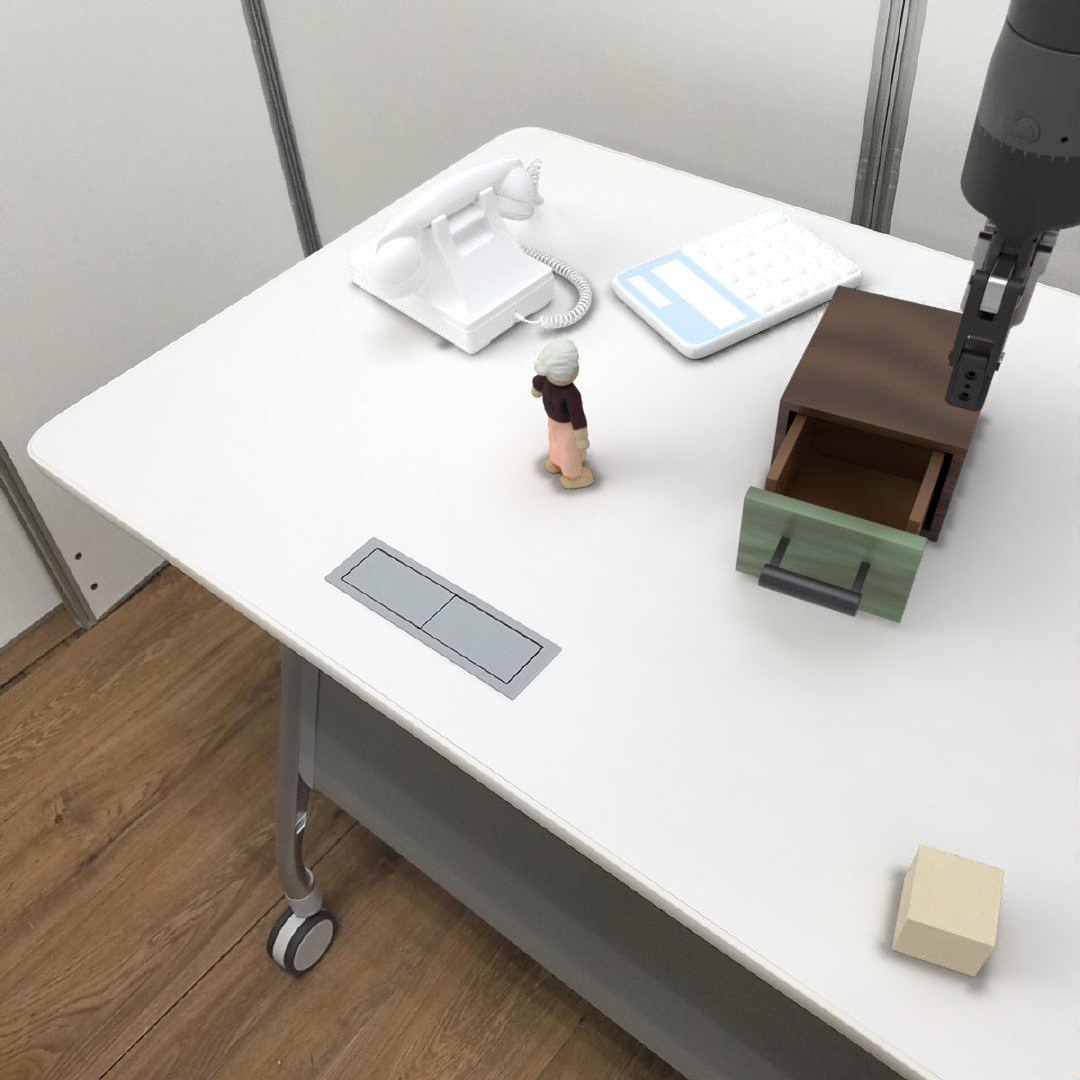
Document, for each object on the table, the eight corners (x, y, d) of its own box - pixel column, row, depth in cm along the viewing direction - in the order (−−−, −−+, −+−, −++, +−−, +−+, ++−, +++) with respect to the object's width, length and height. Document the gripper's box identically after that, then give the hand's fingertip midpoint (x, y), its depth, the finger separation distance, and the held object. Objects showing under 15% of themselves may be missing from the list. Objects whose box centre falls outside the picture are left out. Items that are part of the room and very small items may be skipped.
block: (984, 903, 63) (1004, 869, 60) (974, 977, 61) (995, 947, 57) (904, 878, 64) (920, 844, 61) (891, 949, 62) (907, 918, 58)
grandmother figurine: (616, 479, 87) (615, 354, 78) (581, 504, 86) (576, 380, 76) (551, 432, 91) (543, 308, 82) (516, 455, 90) (504, 331, 80)
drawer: (883, 671, 73) (906, 599, 67) (714, 614, 77) (722, 541, 71) (944, 492, 83) (969, 416, 77) (792, 450, 87) (804, 374, 81)
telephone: (505, 193, 115) (495, 78, 106) (657, 268, 105) (660, 148, 96) (319, 305, 104) (289, 188, 95) (468, 401, 94) (451, 280, 85)
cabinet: (936, 542, 81) (968, 449, 74) (766, 492, 85) (780, 399, 78) (978, 418, 89) (1010, 323, 82) (821, 377, 94) (838, 284, 86)
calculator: (866, 286, 102) (869, 268, 100) (690, 366, 96) (691, 349, 94) (774, 220, 109) (776, 203, 108) (606, 290, 103) (606, 273, 102)
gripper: (1111, 199, 50) (1018, 453, 62) (1156, 62, 58) (1066, 311, 70) (945, 167, 53) (886, 417, 65) (1010, 41, 61) (947, 285, 73)
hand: (980, 362), depth 68 cm, fingers open, 8 cm apart
